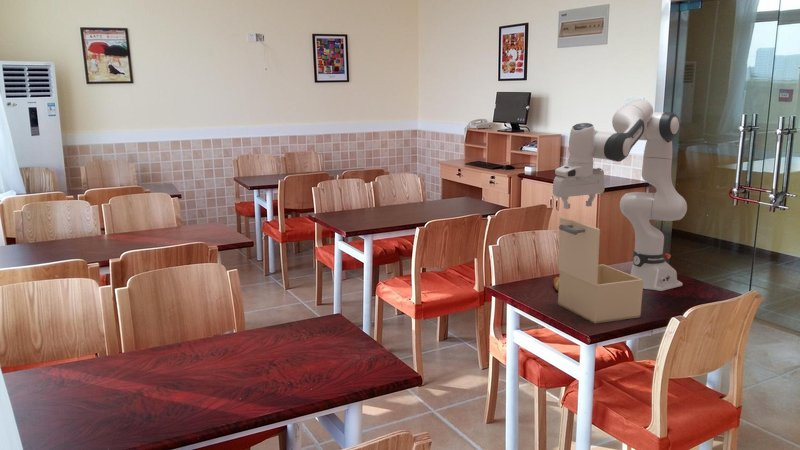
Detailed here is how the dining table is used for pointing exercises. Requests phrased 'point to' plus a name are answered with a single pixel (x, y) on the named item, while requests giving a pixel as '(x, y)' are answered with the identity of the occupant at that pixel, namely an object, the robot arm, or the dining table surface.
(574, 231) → the flap
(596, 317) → the carton
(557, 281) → the croissant
